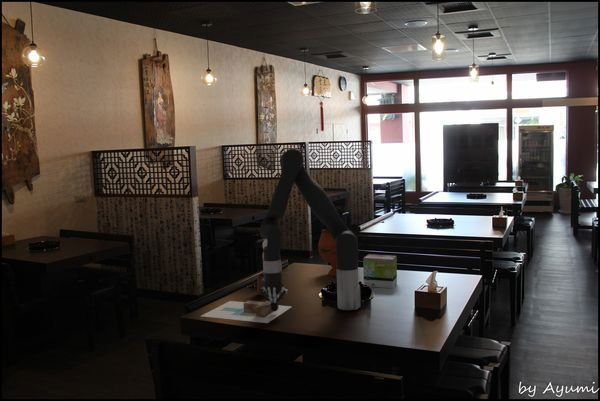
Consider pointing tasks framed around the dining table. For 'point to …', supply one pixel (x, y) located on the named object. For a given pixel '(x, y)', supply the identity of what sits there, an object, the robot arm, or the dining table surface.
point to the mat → (242, 312)
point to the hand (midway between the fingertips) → (274, 310)
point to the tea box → (380, 271)
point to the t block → (258, 308)
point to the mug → (260, 283)
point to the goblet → (328, 250)
